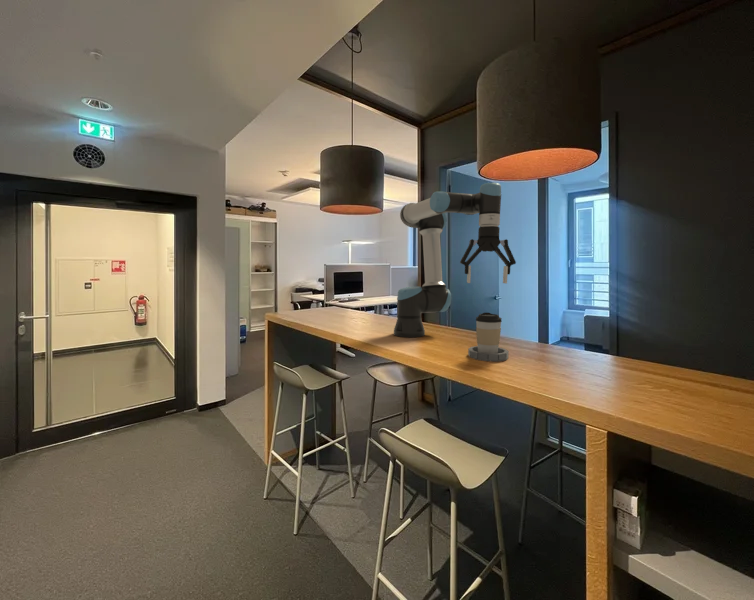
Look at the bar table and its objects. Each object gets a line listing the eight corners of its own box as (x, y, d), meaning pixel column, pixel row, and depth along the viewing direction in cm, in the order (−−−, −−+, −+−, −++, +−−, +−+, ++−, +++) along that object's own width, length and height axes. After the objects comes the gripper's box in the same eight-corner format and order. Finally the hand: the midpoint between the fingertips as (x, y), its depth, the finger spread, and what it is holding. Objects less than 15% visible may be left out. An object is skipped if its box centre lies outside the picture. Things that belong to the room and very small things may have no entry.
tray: (465, 352, 135) (465, 345, 135) (501, 352, 134) (501, 346, 134) (473, 361, 121) (473, 354, 121) (513, 361, 121) (513, 354, 121)
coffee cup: (504, 357, 123) (505, 315, 122) (478, 357, 124) (479, 315, 122) (496, 351, 132) (497, 312, 131) (472, 351, 133) (473, 312, 131)
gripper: (456, 225, 128) (455, 283, 130) (526, 225, 126) (523, 284, 128) (453, 227, 135) (452, 282, 138) (519, 227, 134) (516, 282, 136)
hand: (486, 283), depth 133 cm, fingers open, 13 cm apart
